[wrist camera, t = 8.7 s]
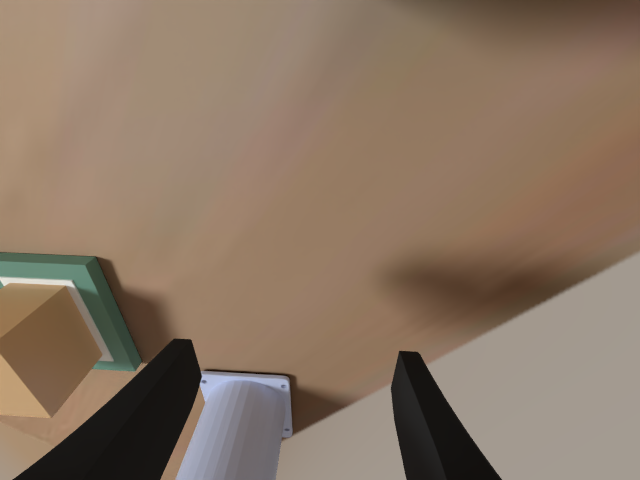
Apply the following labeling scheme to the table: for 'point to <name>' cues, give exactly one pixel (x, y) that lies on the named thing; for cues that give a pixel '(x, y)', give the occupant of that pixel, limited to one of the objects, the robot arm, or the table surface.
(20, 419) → the table surface
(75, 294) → the board
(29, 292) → the block
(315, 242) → the table surface
